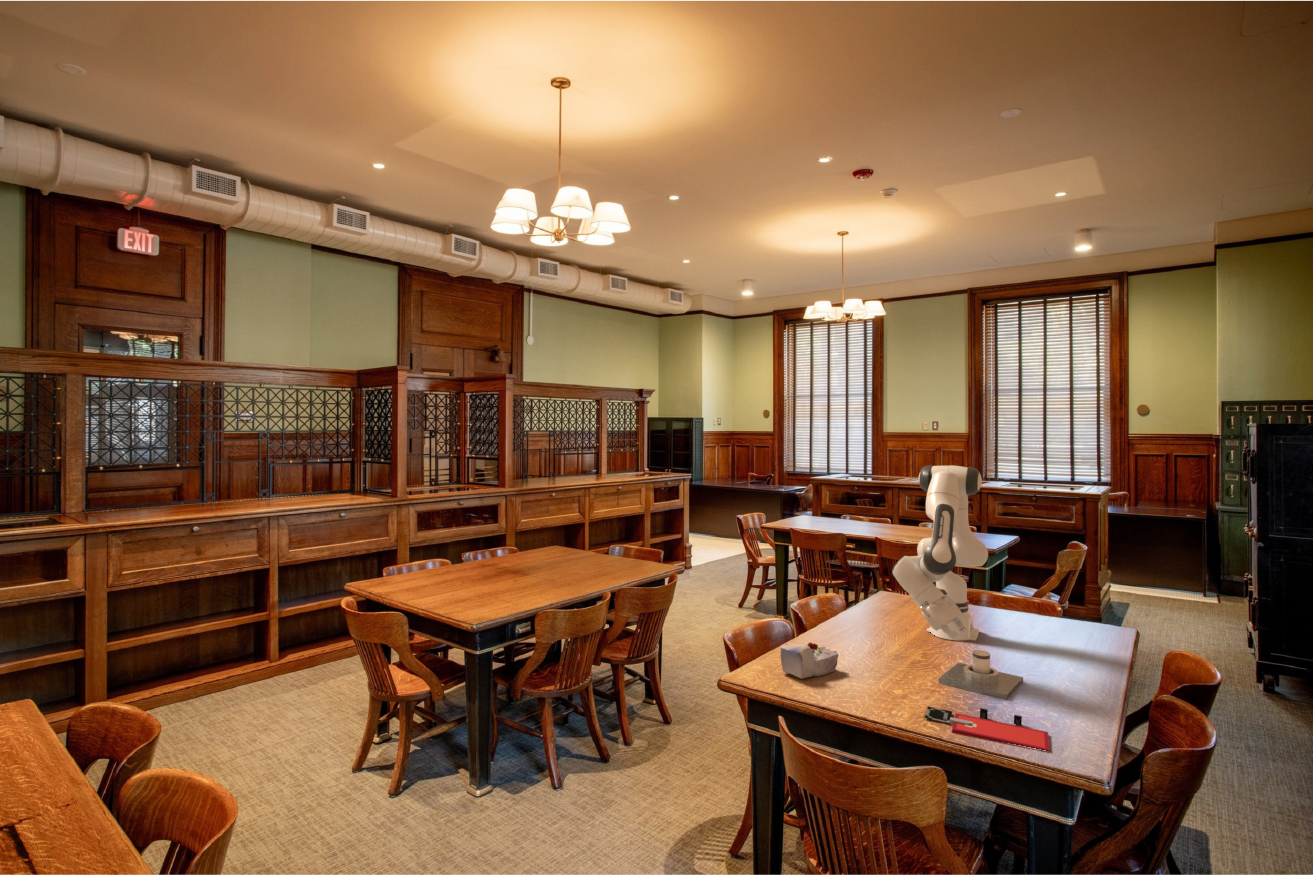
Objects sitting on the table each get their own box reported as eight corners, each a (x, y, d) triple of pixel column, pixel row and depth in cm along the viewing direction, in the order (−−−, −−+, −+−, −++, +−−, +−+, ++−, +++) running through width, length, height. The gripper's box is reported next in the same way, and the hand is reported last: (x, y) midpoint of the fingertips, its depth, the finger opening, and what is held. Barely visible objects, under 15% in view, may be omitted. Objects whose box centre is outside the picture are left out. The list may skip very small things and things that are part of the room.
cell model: (775, 641, 219) (811, 631, 232) (775, 673, 219) (810, 661, 232) (808, 650, 209) (843, 639, 222) (808, 684, 209) (842, 671, 222)
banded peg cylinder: (975, 673, 216) (975, 649, 217) (992, 677, 213) (992, 652, 213) (970, 677, 213) (970, 652, 213) (987, 681, 209) (987, 656, 209)
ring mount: (958, 666, 227) (958, 655, 227) (1023, 681, 213) (1023, 669, 213) (938, 682, 212) (938, 670, 212) (1006, 699, 198) (1006, 686, 198)
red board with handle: (928, 707, 193) (922, 727, 180) (928, 697, 193) (922, 717, 180) (1047, 731, 179) (1049, 755, 165) (1047, 721, 178) (1049, 744, 165)
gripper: (925, 599, 214) (956, 635, 208) (946, 589, 230) (976, 622, 223) (911, 610, 217) (942, 646, 211) (933, 599, 233) (962, 632, 226)
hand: (959, 634), depth 217 cm, fingers open, 8 cm apart
